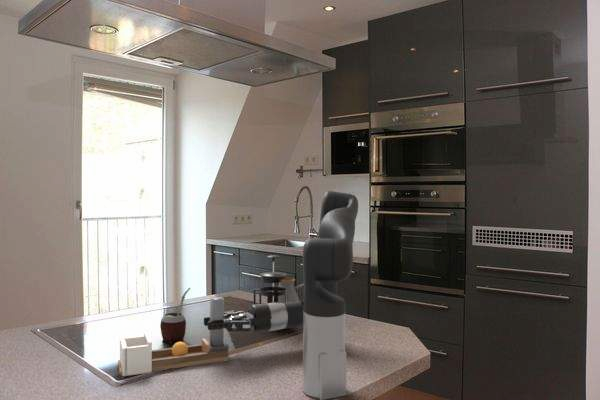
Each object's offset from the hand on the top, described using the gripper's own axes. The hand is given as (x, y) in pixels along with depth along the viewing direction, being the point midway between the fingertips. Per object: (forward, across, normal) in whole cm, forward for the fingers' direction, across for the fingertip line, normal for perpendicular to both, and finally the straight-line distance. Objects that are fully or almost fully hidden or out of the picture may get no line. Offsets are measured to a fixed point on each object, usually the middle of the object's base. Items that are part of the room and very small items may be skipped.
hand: (206, 323), depth 121 cm
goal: (+17, 0, +9) cm, 19 cm away
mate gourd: (+5, -17, +9) cm, 20 cm away
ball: (+7, 0, +6) cm, 9 cm away
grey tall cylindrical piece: (-2, 0, +8) cm, 8 cm away
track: (+8, 0, +9) cm, 12 cm away
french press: (-27, -22, +9) cm, 36 cm away
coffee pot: (-41, -30, +9) cm, 51 cm away
